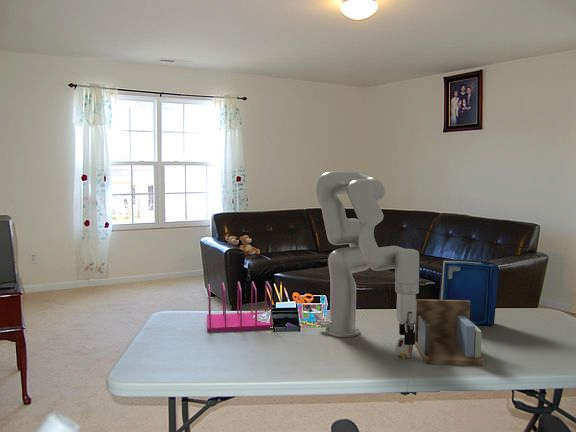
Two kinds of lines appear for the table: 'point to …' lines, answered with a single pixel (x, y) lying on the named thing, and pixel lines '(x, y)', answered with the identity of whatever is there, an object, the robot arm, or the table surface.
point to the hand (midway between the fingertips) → (406, 339)
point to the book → (471, 287)
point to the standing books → (468, 337)
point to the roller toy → (403, 349)
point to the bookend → (423, 335)
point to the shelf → (443, 331)
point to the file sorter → (237, 314)
